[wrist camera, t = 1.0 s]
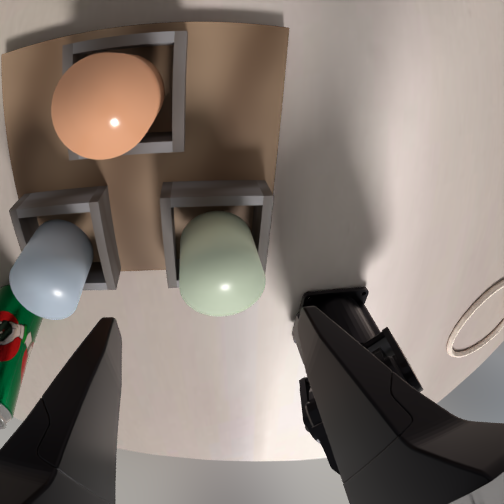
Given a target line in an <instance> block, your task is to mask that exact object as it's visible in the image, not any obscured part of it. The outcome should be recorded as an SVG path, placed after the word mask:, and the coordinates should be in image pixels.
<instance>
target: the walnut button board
mask: <svg viewBox="0 0 504 504" xmlns="http://www.w3.org/2000/svg"><path fill="white" fill-rule="evenodd" d="M288 36H289V28H286V27H279V26H270V25H260V24H248V23H231V22H169V23H153V24H141V25H131V26H122V27H115V28H108V29H101V30H95V31H89V32H84V33H79V34H74V35H69V36H65V37H60V38H56V39H52V40H48V41H44V42H40V43H37V44H33V45H30V46H27V47H23V48H20V49H17V50H14V51H11V52H8V53H5V54H2V55H1V65H2V92H3V106H4V117H5V126H6V134H7V141H8V148H9V154H10V160H11V165H12V171H13V176H14V181H15V185H16V190H17V194H18V198H19V200H18V201H17V202H16V203H15V204H14V205H13V207H12V208H11V209H10V210H9V212H10V216H11V219H12V223H13V226H14V230H15V233H16V236H17V239H18V243H19V246H20V249H21V252H22V251H23V249H24V248H25V246H26V245H27V243H28V242H29V240H30V239H31V237H32V236H33V234H34V233H35V232H36V230H37V229H38V227H39V226H40V225H41V224H43V223H44V222H46V221H49V220H54V219H60V220H65V221H68V222H71V223H73V224H75V225H76V226H78V227H79V228H80V229H81V230H82V231H83V232H84V233H85V234H86V235H87V237H88V238H89V240H90V242H91V244H92V247H93V262H92V265H91V267H90V270H89V273H88V276H87V278H86V281H85V284H84V287H83V290H116V287H117V283H118V279H119V275H120V271H142V270H166V274H167V282H168V288H179V272H180V239H181V235H182V232H183V230H184V228H185V227H186V225H187V224H188V223H189V222H190V221H191V220H192V219H194V218H195V217H197V216H199V215H201V214H203V213H206V212H211V211H225V212H229V213H232V214H235V215H237V216H238V217H240V218H241V219H242V220H244V221H245V223H246V224H247V225H248V227H249V229H250V231H251V234H252V237H253V240H254V243H255V246H256V249H257V252H258V255H259V258H260V261H261V264H262V267H263V270H264V274H265V270H266V262H267V253H268V244H269V236H270V227H271V218H272V209H273V200H274V195H273V189H274V180H275V170H276V161H277V151H278V141H279V131H280V121H281V111H282V101H283V90H284V80H285V69H286V58H287V47H288ZM105 52H110V53H124V54H134V55H138V56H141V57H144V58H145V59H147V60H149V61H150V62H151V63H153V64H154V66H155V67H156V68H157V69H158V71H159V72H160V74H161V76H162V79H163V82H164V88H165V95H164V101H163V105H162V108H161V110H160V112H159V114H158V115H157V117H156V118H155V120H154V122H153V123H152V125H151V126H150V128H149V130H148V131H147V133H146V134H145V136H144V137H143V138H142V140H141V141H140V142H139V143H138V144H137V145H136V146H135V147H133V148H132V149H131V150H129V151H128V152H126V153H124V154H122V155H120V156H118V157H114V158H111V159H104V160H96V159H89V158H85V157H82V156H80V155H78V154H76V153H74V152H73V151H71V150H70V149H69V148H68V147H66V146H65V145H64V143H63V142H62V141H61V140H60V138H59V137H58V135H57V133H56V131H55V128H54V125H53V122H52V115H51V105H52V98H53V94H54V91H55V89H56V86H57V84H58V82H59V80H60V79H61V77H62V76H63V75H64V73H65V72H66V71H67V70H68V69H69V68H70V67H71V66H72V65H73V64H75V63H76V62H78V61H79V60H81V59H83V58H85V57H87V56H90V55H93V54H97V53H105Z"/></svg>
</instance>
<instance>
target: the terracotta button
mask: <svg viewBox="0 0 504 504" xmlns="http://www.w3.org/2000/svg"><path fill="white" fill-rule="evenodd" d="M164 95H165V88H164V82H163V79H162V76H161V74H160V72H159V71H158V69H157V68H156V67H155V66H154V64H153V63H151V62H150V61H149V60H147V59H145V58H144V57H141V56H138V55H134V54H124V53H110V52H105V53H97V54H93V55H90V56H87V57H85V58H83V59H81V60H79V61H78V62H76V63H75V64H73V65H72V66H71V67H70V68H69V69H68V70H67V71H66V72H65V73H64V75H63V76H62V77H61V79H60V80H59V82H58V84H57V86H56V89H55V91H54V94H53V98H52V105H51V115H52V122H53V125H54V128H55V131H56V133H57V135H58V137H59V138H60V140H61V141H62V142H63V143H64V145H65V146H66V147H68V148H69V149H70V150H71V151H73V152H74V153H76V154H78V155H80V156H82V157H85V158H89V159H96V160H104V159H111V158H114V157H118V156H120V155H122V154H124V153H126V152H128V151H129V150H131V149H132V148H133V147H135V146H136V145H137V144H138V143H139V142H140V141H141V140H142V138H143V137H144V136H145V134H146V133H147V131H148V130H149V128H150V126H151V125H152V123H153V122H154V120H155V118H156V117H157V115H158V114H159V112H160V110H161V108H162V105H163V101H164Z"/></svg>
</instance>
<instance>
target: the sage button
mask: <svg viewBox="0 0 504 504" xmlns="http://www.w3.org/2000/svg"><path fill="white" fill-rule="evenodd" d="M264 288H265V274H264V270H263V267H262V264H261V261H260V258H259V255H258V252H257V249H256V246H255V243H254V240H253V237H252V234H251V231H250V229H249V227H248V225H247V224H246V223H245V221H244V220H242V219H241V218H240V217H238V216H237V215H235V214H232V213H229V212H225V211H211V212H206V213H203V214H201V215H199V216H197V217H195V218H194V219H192V220H191V221H190V222H189V223H188V224H187V225H186V227H185V228H184V230H183V232H182V235H181V239H180V272H179V289H180V293H181V296H182V298H183V300H184V301H185V302H186V304H187V305H188V306H190V307H191V308H192V309H194V310H195V311H197V312H199V313H202V314H205V315H209V316H229V315H234V314H237V313H240V312H242V311H244V310H246V309H248V308H249V307H251V306H252V305H253V304H254V303H255V302H256V301H257V300H258V299H259V298H260V296H261V295H262V293H263V290H264Z"/></svg>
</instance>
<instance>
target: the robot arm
mask: <svg viewBox="0 0 504 504" xmlns="http://www.w3.org/2000/svg"><path fill="white" fill-rule="evenodd" d="M367 296H368V290H367V288H366V287H358V288H348V289H337V290H326V291H315V292H307V293H305V294H304V295H303V298H302V302H301V307H300V311H299V313H298V314H297V315H296V320H295V324H294V328H293V335H294V336H293V340H294V342H295V343H296V344H297V347H298V350H299V353H300V355H301V358H302V361H303V364H304V365H305V369H306V373H307V377H304V378H302V379H300V380H299V383H300V396H301V405H302V414H303V422H304V424H305V428H306V430H307V431H308V432H310V434H311V435H312V437H313V438H314V439H315V440H316V441H317V442H318V443H320V444H321V445H322V447H323V449H324V452H325V454H326V456H327V459H328V461H329V464H330V466H331V468H332V469H333V470H334V471H336V472H337V473H338V474H340V475H341V478H342V481H343V483H344V484H343V485H344V488H345V491H346V494H347V497H348V500H349V503H350V504H504V424H503V423H488V422H474V421H467V420H463V419H461V418H458V417H456V416H454V415H453V414H451V413H449V412H448V411H446V410H445V409H443V408H442V407H440V406H439V405H437V404H436V403H435V402H433V401H432V400H430V399H429V398H427V397H426V396H424V395H423V394H421V393H420V392H421V391H422V390H423V388H422V386H421V384H420V383H419V381H418V379H417V377H416V375H415V373H414V371H413V369H412V368H411V366H410V364H409V362H408V361H407V359H406V357H405V355H404V354H403V352H402V350H401V348H400V347H399V345H398V343H397V342H396V340H395V339H394V337H393V335H392V334H391V332H390V330H389V329H388V327H386V328H385V329H383V330H382V332H380V330H379V329H378V327H377V325H376V324H375V322H374V320H373V318H372V317H371V315H370V313H369V312H368V310H367V308H366V307H365V305H364V303H365V301H366V298H367ZM309 297H310V298H309ZM121 386H122V338H121V334H120V331H119V328H118V324H117V321H116V319H115V318H113V317H106V318H102V319H100V321H99V322H98V323H97V324H96V326H95V327H94V328H93V329H92V331H91V332H90V333H89V334H88V336H87V337H86V338H85V340H84V341H83V342H82V343H81V345H80V346H79V347H78V348H77V350H76V351H75V352H74V354H73V355H72V356H71V358H70V359H69V360H68V362H67V363H66V364H65V366H64V367H63V368H62V370H61V371H60V372H59V374H58V375H57V376H56V378H55V379H54V380H53V382H52V383H51V385H50V386H49V387H48V389H47V390H46V391H45V393H44V394H43V396H42V398H40V400H39V401H38V403H37V404H36V405H35V407H34V408H33V410H32V411H31V412H30V414H29V415H28V416H27V418H26V419H25V420H24V421H23V423H22V424H21V425H20V426H19V428H18V429H17V430H16V432H15V433H14V434H13V435H12V436H11V437H10V438H9V440H8V441H7V442H6V443H5V444H4V446H3V447H2V448H1V449H0V504H115V480H116V479H115V478H116V450H117V434H118V420H119V408H120V398H121Z"/></svg>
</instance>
